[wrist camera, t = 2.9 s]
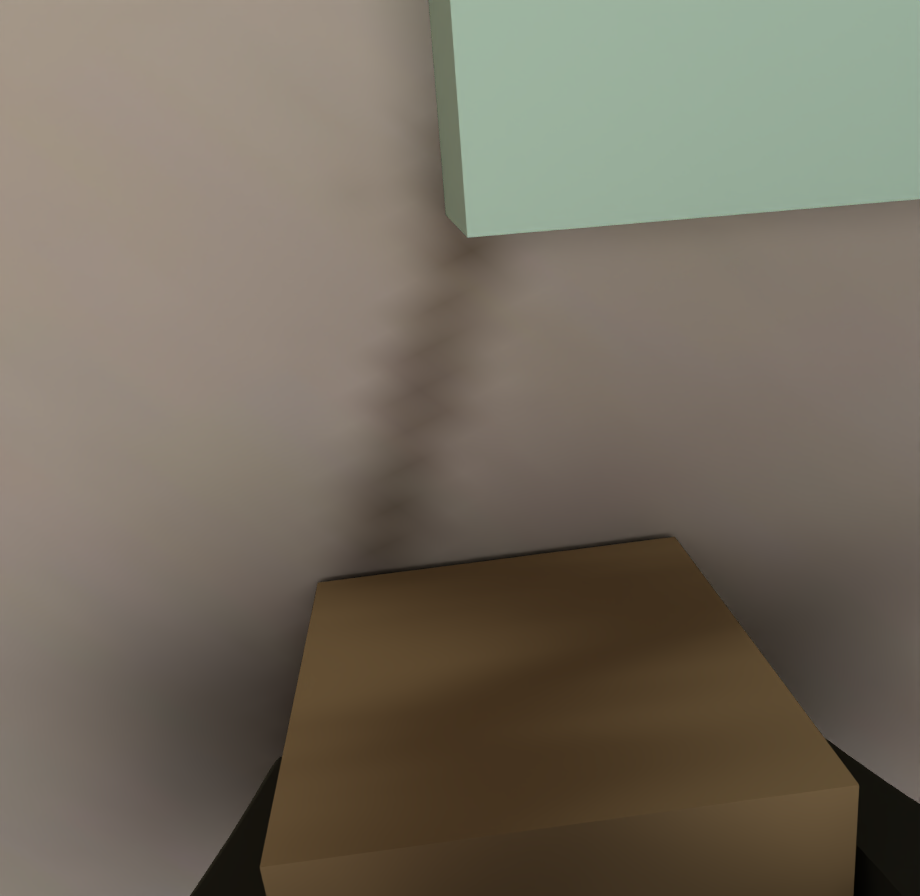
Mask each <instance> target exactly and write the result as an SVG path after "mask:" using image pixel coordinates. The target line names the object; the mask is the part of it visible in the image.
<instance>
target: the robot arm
mask: <svg viewBox="0 0 920 896" xmlns="http://www.w3.org/2000/svg"><path fill="white" fill-rule="evenodd" d="M825 740H826V741H827V742H828V744H829V745H830V746H831V748H832V749H833V750H834V752H835V753H836V754H837V756H838V757H839V758H840V760H841V761H842V762H843V764H844V765H845V766H846V768H847V769H848V771H849V772H850V773H851V775H852V776H853V777H854V779H855V780H856V781H857V783H858V784H859V798H858V817H857V836H856V855H855V874H854V893H853V896H920V804H919V803H917V802H916V801H914V800H913V799H911V798H910V797H908V796H906V795H905V794H904V793H902V792H901V791H899V790H898V789H896V788H895V787H893V786H892V785H890V784H889V783H887V782H886V781H884V780H883V779H882V778H880V777H879V776H877V775H876V774H874V773H873V772H871V771H870V770H869V769H867V768H866V767H864V766H863V765H861V764H860V763H859V762H857V761H856V760H854V759H853V758H852V757H850V756H849V755H847V754H846V753H845V752H843V751H842V750H841V749H839V748H838V747H836V746H835V745H834V744H832V743H831V742H830V741H828V740H827V739H825ZM281 760H282V757H279V759H278V760H277V761H276V762H275V763H274V765H273V766H272V768H271V769H270V771H269V773H268V774H267V776H266V778H265V779H264V781H263V783H262V784H261V786H260V788H259V789H258V791H257V793H256V795H255V796H254V798H253V799H252V801H251V803H250V804H249V806H248V808H247V809H246V811H245V813H244V814H243V816H242V817H241V819H240V821H239V822H238V824H237V825H236V827H235V829H234V830H233V832H232V833H231V835H230V837H229V838H228V840H227V841H226V843H225V844H224V846H223V847H222V849H221V850H220V852H219V853H218V855H217V856H216V858H215V859H214V861H213V862H212V864H211V865H210V867H209V868H208V870H207V871H206V873H205V874H204V876H203V877H202V879H201V880H200V882H199V883H198V885H197V886H196V888H195V889H194V891H193V892H192V893H191V895H190V896H266V892H265V888H264V884H263V880H262V875H261V871H260V863H261V858H262V853H263V849H264V844H265V839H266V834H267V829H268V824H269V819H270V814H271V809H272V804H273V800H274V795H275V790H276V785H277V780H278V775H279V770H280V765H281Z"/></svg>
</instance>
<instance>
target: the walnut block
mask: <svg viewBox="0 0 920 896" xmlns="http://www.w3.org/2000/svg"><path fill="white" fill-rule="evenodd" d="M858 798H859V784H858V783H857V781H856V780H855V779H854V777H853V776H852V775H851V773H850V772H849V771H848V769H847V768H846V766H845V765H844V764H843V762H842V761H841V760H840V758H839V757H838V756H837V754H836V753H835V752H834V750H833V749H832V748H831V746H830V745H829V744H828V742H827V741H826V740H825V738H824V737H823V736H822V734H821V733H820V732H819V730H818V729H817V727H816V726H815V725H814V723H813V722H812V721H811V719H810V718H809V717H808V715H807V714H806V713H805V711H804V710H803V709H802V707H801V706H800V705H799V703H798V702H797V701H796V699H795V698H794V697H793V695H792V694H791V693H790V691H789V690H788V688H787V687H786V686H785V684H784V683H783V682H782V680H781V679H780V678H779V676H778V675H777V674H776V672H775V671H774V670H773V668H772V667H771V666H770V664H769V663H768V662H767V660H766V659H765V658H764V656H763V655H762V654H761V652H760V651H759V650H758V648H757V647H756V645H755V644H754V643H753V641H752V640H751V639H750V637H749V636H748V635H747V633H746V632H745V631H744V629H743V628H742V627H741V625H740V624H739V623H738V621H737V620H736V619H735V617H734V616H733V615H732V613H731V612H730V611H729V609H728V608H727V606H726V605H725V604H724V602H723V601H722V600H721V598H720V597H719V596H718V594H717V593H716V592H715V590H714V589H713V588H712V586H711V585H710V584H709V582H708V581H707V580H706V578H705V577H704V576H703V574H702V573H701V572H700V570H699V569H698V568H697V566H696V565H695V563H694V562H693V561H692V559H691V558H690V557H689V555H688V554H687V553H686V551H685V550H684V549H683V547H682V546H681V545H680V543H679V542H678V541H677V539H676V538H675V537H669V538H661V539H653V540H645V541H638V542H630V543H622V544H614V545H607V546H599V547H591V548H583V549H575V550H568V551H560V552H552V553H544V554H537V555H529V556H521V557H513V558H505V559H498V560H490V561H482V562H474V563H467V564H459V565H451V566H443V567H435V568H428V569H420V570H412V571H404V572H397V573H389V574H381V575H373V576H366V577H358V578H350V579H342V580H334V581H327V582H319V583H318V584H317V589H316V594H315V599H314V604H313V609H312V614H311V619H310V623H309V628H308V633H307V638H306V643H305V648H304V653H303V658H302V663H301V667H300V672H299V677H298V682H297V687H296V692H295V697H294V702H293V707H292V711H291V716H290V721H289V726H288V731H287V736H286V741H285V746H284V751H283V756H282V760H281V765H280V770H279V775H278V780H277V785H276V790H275V795H274V800H273V804H272V809H271V814H270V819H269V824H268V829H267V834H266V839H265V844H264V849H263V853H262V858H261V863H260V871H261V875H262V880H263V884H264V888H265V892H266V896H853V893H854V874H855V855H856V836H857V817H858Z"/></svg>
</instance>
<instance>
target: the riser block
mask: <svg viewBox="0 0 920 896" xmlns="http://www.w3.org/2000/svg"><path fill="white" fill-rule="evenodd" d="M429 13H430V25H431V38H432V50H433V63H434V75H435V88H436V100H437V112H438V125H439V137H440V150H441V162H442V175H443V187H444V200H445V212H446V216H447V217H448V218H449V219H450V220H451V221H452V222H453V223H454V224H455V225H456V226H457V227H458V228H459V229H460V230H461V231H462V232H463V233H464V235H465V236H466V237H467V238H468V237H480V236H492V235H504V234H515V233H527V232H539V231H551V230H562V229H574V228H586V227H598V226H609V225H621V224H633V223H644V222H656V221H668V220H680V219H691V218H703V217H715V216H727V215H738V214H750V213H762V212H774V211H785V210H797V209H809V208H820V207H832V206H844V205H856V204H867V203H879V202H891V201H903V200H914V199H920V0H429Z"/></svg>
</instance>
